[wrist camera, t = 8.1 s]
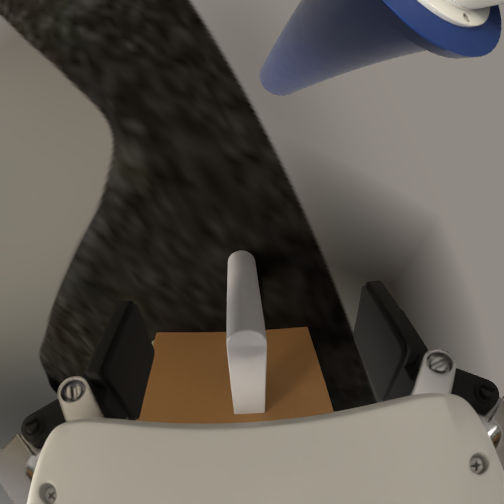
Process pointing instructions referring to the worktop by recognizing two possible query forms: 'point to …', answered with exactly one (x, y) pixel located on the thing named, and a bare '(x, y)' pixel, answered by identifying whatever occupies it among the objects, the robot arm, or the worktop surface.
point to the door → (235, 366)
